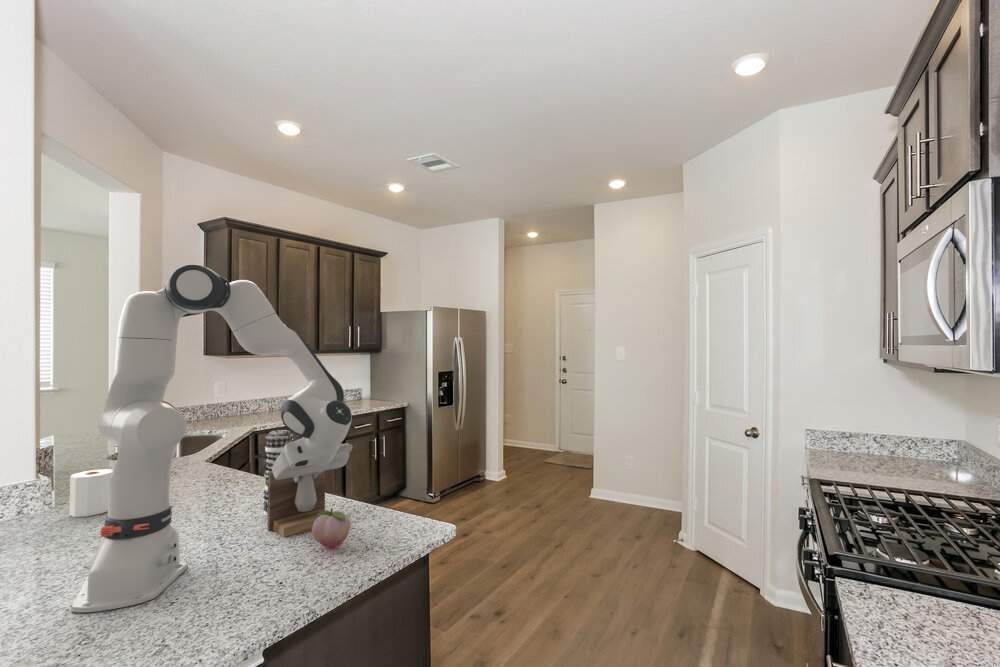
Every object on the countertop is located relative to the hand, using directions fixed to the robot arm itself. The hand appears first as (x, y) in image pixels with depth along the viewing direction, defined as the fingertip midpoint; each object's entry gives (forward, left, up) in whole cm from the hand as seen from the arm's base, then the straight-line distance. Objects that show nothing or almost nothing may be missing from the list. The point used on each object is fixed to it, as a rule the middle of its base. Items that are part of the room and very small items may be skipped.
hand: (304, 478), depth 137 cm
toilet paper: (+38, +63, -14) cm, 75 cm away
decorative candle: (+16, +8, -14) cm, 23 cm away
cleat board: (+1, 0, -14) cm, 14 cm away
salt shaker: (0, 0, -9) cm, 9 cm away
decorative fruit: (-19, -7, -14) cm, 24 cm away
